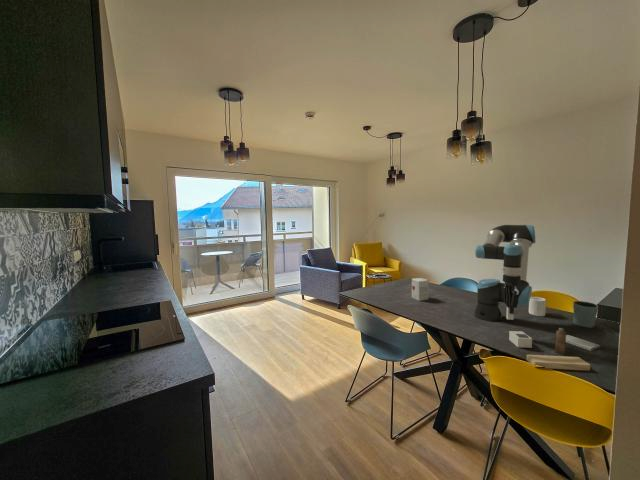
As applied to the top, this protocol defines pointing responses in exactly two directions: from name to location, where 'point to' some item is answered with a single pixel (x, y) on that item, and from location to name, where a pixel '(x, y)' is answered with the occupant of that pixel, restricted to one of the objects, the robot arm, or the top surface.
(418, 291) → the supplement box
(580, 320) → the grey round pot
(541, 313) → the mug
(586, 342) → the hard drive
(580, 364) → the batten
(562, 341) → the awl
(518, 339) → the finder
